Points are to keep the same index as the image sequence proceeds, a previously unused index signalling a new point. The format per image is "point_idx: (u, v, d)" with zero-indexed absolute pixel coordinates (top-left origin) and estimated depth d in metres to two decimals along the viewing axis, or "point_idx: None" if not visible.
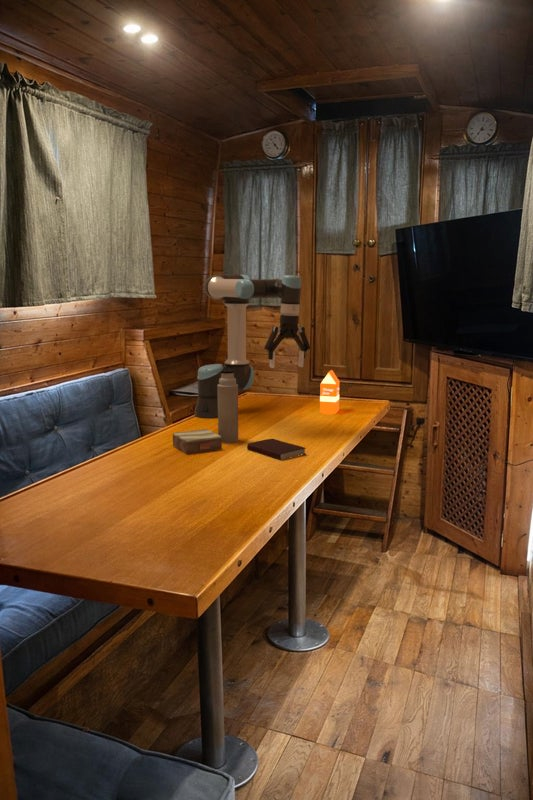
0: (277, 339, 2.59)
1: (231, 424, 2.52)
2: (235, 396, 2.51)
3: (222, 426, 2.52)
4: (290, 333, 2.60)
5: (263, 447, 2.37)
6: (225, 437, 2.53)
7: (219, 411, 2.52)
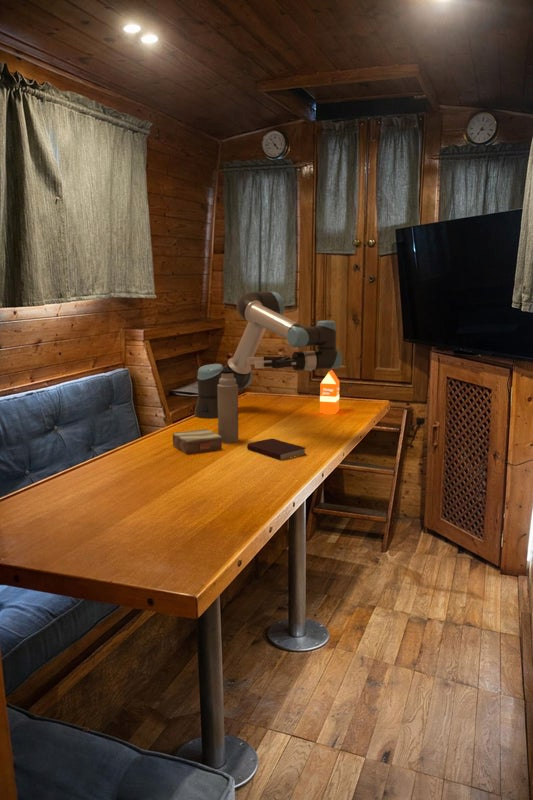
0: None
1: (231, 424, 2.52)
2: (235, 396, 2.51)
3: (222, 426, 2.52)
4: None
5: (263, 447, 2.37)
6: (225, 437, 2.53)
7: (219, 411, 2.52)
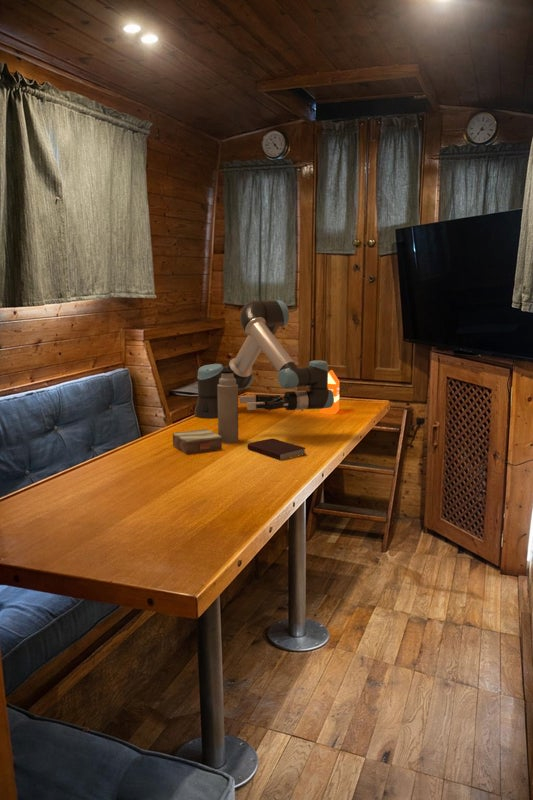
0: None
1: (231, 424, 2.52)
2: (235, 396, 2.51)
3: (222, 426, 2.52)
4: None
5: (263, 447, 2.37)
6: (225, 437, 2.53)
7: (219, 411, 2.52)
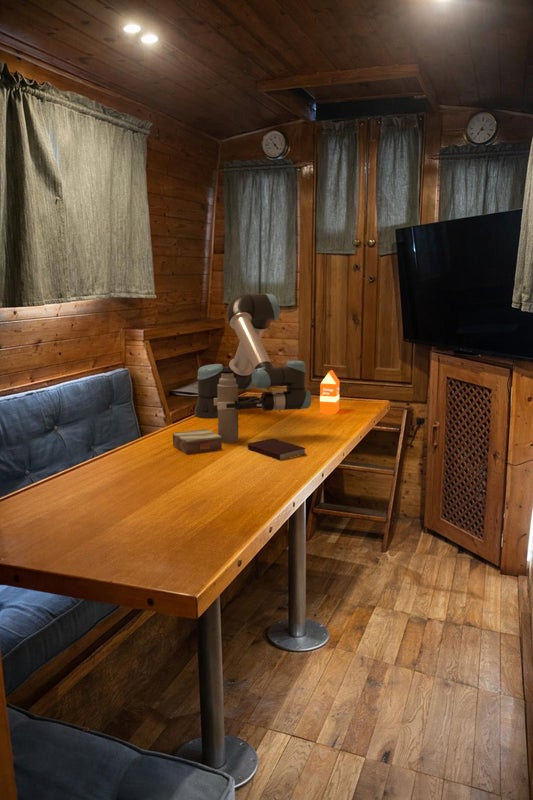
0: None
1: (231, 424, 2.52)
2: (235, 396, 2.51)
3: (222, 426, 2.52)
4: None
5: (263, 447, 2.38)
6: (225, 437, 2.53)
7: (219, 411, 2.52)
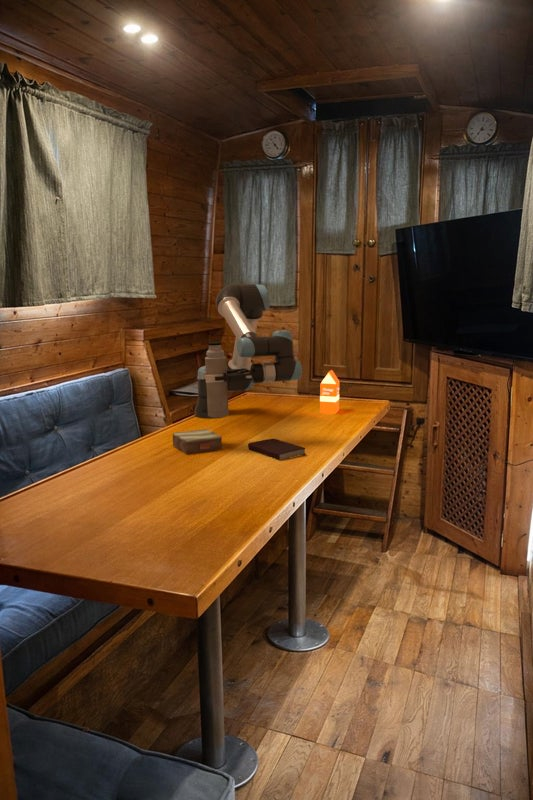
0: None
1: (220, 397, 2.44)
2: (224, 368, 2.43)
3: (212, 400, 2.45)
4: None
5: (263, 447, 2.38)
6: (215, 411, 2.45)
7: (208, 385, 2.45)
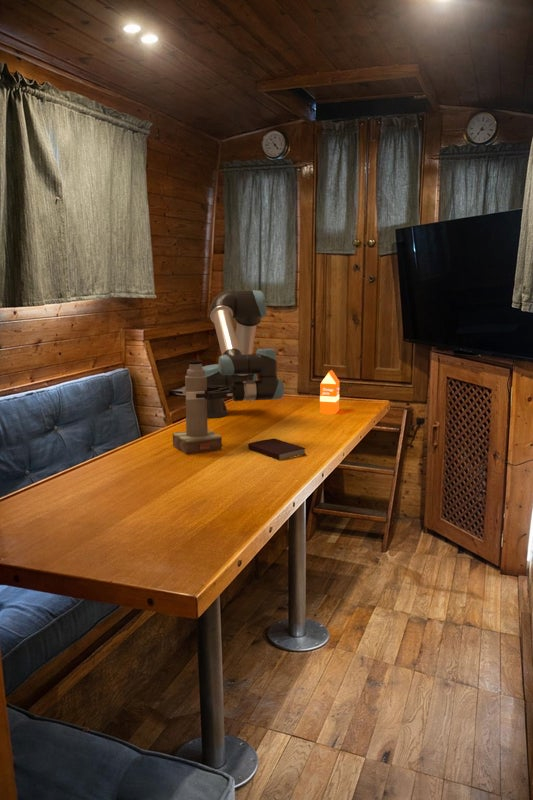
0: None
1: (199, 417, 2.40)
2: (203, 388, 2.40)
3: (190, 419, 2.41)
4: None
5: (263, 447, 2.38)
6: (193, 431, 2.41)
7: (187, 404, 2.41)
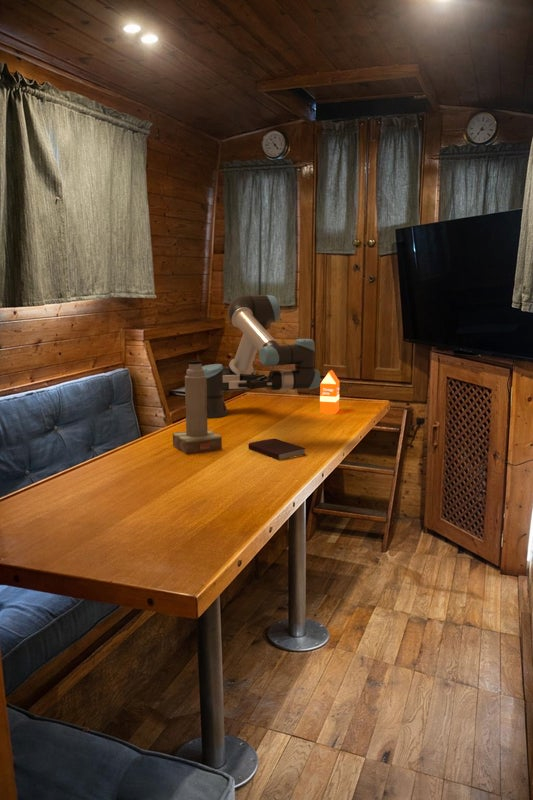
0: None
1: (199, 417, 2.41)
2: (203, 388, 2.40)
3: (190, 419, 2.41)
4: None
5: (263, 447, 2.38)
6: (193, 431, 2.41)
7: (187, 404, 2.41)
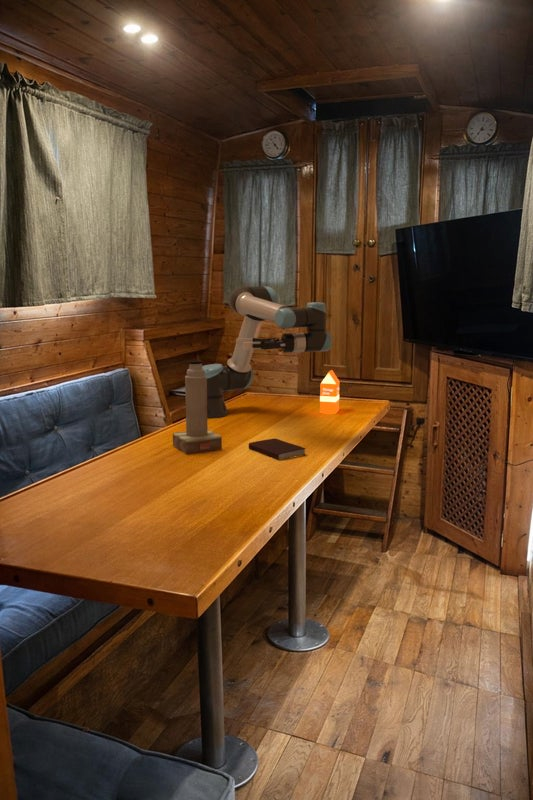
0: None
1: (199, 417, 2.41)
2: (203, 388, 2.40)
3: (190, 419, 2.41)
4: None
5: (263, 447, 2.38)
6: (193, 431, 2.41)
7: (187, 404, 2.41)
